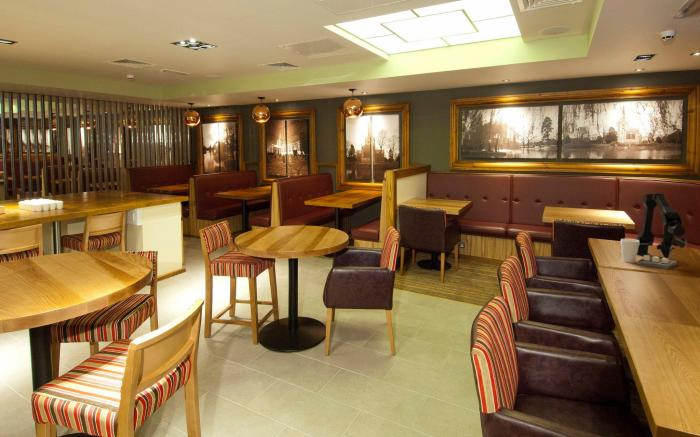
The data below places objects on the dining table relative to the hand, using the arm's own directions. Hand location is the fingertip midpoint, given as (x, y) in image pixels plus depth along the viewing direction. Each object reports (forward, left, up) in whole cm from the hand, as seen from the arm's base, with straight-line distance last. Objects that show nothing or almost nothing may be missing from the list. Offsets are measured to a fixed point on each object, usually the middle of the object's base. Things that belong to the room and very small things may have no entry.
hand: (666, 260), depth 247 cm
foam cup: (+3, -18, -4) cm, 19 cm away
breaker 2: (+2, 0, -1) cm, 3 cm away
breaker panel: (-1, -5, -4) cm, 6 cm away
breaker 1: (+2, -9, -1) cm, 9 cm away
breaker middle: (+2, -5, -1) cm, 5 cm away
